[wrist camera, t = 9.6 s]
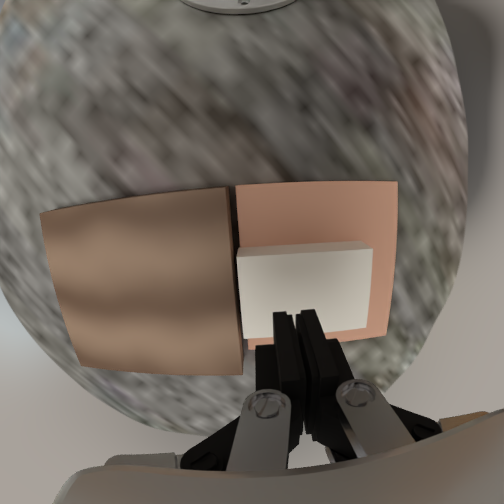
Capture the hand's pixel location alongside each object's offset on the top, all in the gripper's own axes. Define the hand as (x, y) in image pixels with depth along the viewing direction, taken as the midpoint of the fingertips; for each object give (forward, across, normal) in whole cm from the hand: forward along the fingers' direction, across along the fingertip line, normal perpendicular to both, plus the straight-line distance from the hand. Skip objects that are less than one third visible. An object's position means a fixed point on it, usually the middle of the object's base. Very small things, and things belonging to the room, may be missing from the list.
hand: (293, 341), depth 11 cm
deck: (+10, +10, +2) cm, 15 cm away
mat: (+10, -4, +1) cm, 11 cm away
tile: (+10, -2, +2) cm, 10 cm away
